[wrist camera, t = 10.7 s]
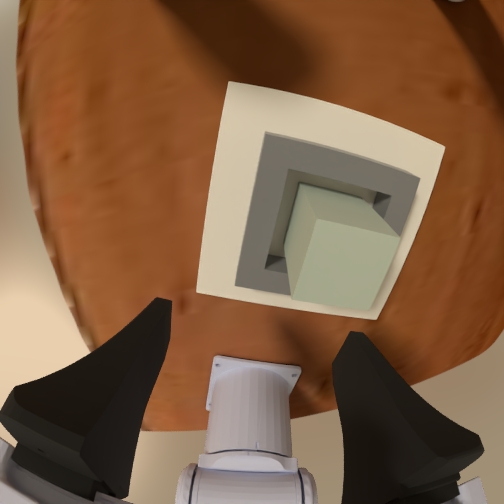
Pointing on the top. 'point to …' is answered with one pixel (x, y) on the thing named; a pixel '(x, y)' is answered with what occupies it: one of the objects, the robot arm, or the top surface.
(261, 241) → the dock
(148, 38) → the top surface
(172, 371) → the top surface
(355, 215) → the plug block
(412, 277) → the top surface
